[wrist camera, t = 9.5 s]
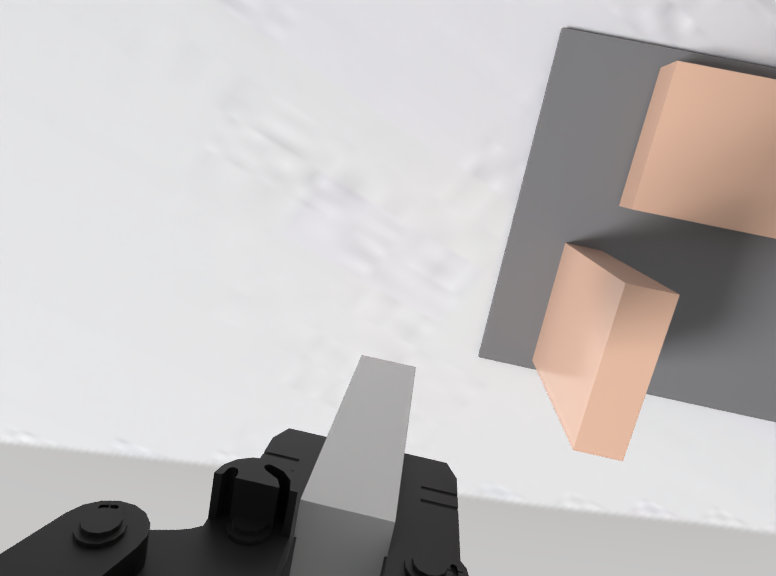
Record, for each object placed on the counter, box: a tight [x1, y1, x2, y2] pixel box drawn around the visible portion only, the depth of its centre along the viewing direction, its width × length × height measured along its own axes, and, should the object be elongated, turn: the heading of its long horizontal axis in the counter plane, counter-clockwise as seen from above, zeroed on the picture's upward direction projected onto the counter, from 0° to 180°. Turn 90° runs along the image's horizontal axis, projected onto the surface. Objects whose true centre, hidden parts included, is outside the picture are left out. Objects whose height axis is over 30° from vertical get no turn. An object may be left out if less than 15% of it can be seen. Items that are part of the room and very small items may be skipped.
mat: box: [479, 28, 776, 422], centre depth 29 cm, size 18×20×1 cm
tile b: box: [532, 243, 680, 461], centre depth 26 cm, size 7×2×10 cm, turn 169°
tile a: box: [619, 61, 776, 239], centre depth 27 cm, size 7×2×10 cm
